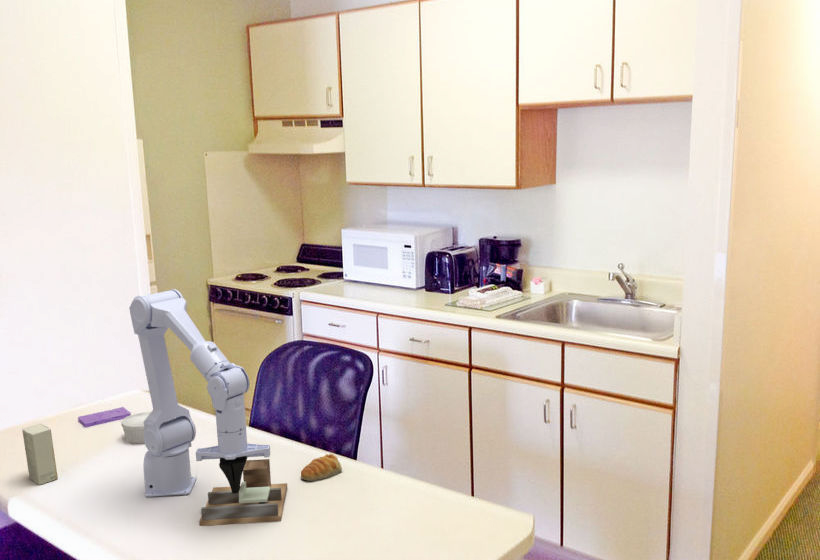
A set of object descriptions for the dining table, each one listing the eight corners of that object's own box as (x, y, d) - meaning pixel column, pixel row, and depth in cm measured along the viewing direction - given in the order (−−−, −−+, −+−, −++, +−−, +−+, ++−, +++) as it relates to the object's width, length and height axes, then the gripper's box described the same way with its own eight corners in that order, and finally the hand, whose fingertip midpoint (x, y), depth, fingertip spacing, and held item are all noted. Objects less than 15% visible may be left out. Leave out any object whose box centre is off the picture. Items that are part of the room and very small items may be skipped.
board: (199, 525, 149) (198, 509, 148) (213, 491, 163) (212, 477, 163) (280, 520, 150) (279, 505, 149) (287, 487, 164) (286, 473, 164)
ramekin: (151, 426, 204) (149, 408, 203) (176, 434, 197) (175, 415, 196) (114, 440, 195) (112, 420, 194) (139, 449, 189) (137, 429, 188)
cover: (238, 503, 150) (238, 493, 149) (243, 490, 155) (242, 480, 155) (267, 501, 150) (266, 491, 150) (270, 489, 156) (269, 479, 155)
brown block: (244, 496, 158) (242, 470, 157) (247, 486, 163) (246, 460, 162) (268, 495, 159) (266, 468, 158) (271, 484, 164) (269, 459, 163)
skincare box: (58, 479, 172) (52, 429, 170) (38, 486, 169) (32, 434, 167) (47, 471, 176) (41, 422, 174) (27, 478, 173) (21, 428, 171)
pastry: (313, 486, 165) (312, 470, 165) (293, 478, 170) (292, 462, 169) (344, 472, 172) (343, 456, 171) (325, 464, 176) (324, 449, 176)
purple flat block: (131, 418, 211) (130, 412, 211) (84, 429, 204) (83, 423, 204) (124, 412, 217) (123, 406, 217) (78, 422, 210) (77, 416, 209)
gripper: (190, 437, 145) (195, 502, 148) (265, 433, 146) (269, 498, 149) (197, 424, 152) (203, 486, 155) (269, 420, 153) (273, 482, 156)
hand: (236, 491), depth 152 cm, fingers closed
